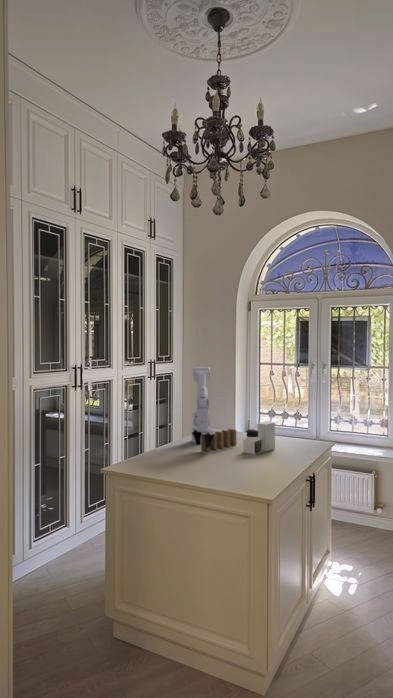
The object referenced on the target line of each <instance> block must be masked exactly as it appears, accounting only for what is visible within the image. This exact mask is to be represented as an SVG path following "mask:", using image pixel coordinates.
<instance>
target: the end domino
mask: <svg viewBox="0 0 393 698" xmlns="http://www.w3.org/2000/svg"><path fill="white" fill-rule="evenodd" d="M204 435H205V434H201V444H200V447H201V448H200V450H201V451H204V452H207V453H208V452H210V447H209V448H206V443H205V438H204Z"/></svg>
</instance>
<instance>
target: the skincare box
mask: <svg viewBox="0 0 393 698" xmlns="http://www.w3.org/2000/svg"><path fill="white" fill-rule="evenodd" d="M256 425H257V431H258V438H260V439H261V451H263V452H269V451H272V450H275V449H276V422H273V421H270V420H265V421H260V422H257V424H256Z"/></svg>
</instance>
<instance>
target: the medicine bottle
mask: <svg viewBox="0 0 393 698" xmlns="http://www.w3.org/2000/svg"><path fill="white" fill-rule="evenodd" d="M242 441H243V444H242V445H243V446H242V447H243V448H242V450H243V451H242V452H243V453H246V454H251V455H255V456H256V455H257V454H260V453H261V452H262V450H261V439H260V438H258V429H253V428H251V429H247V430H246V438H244V439H243V440H242Z"/></svg>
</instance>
